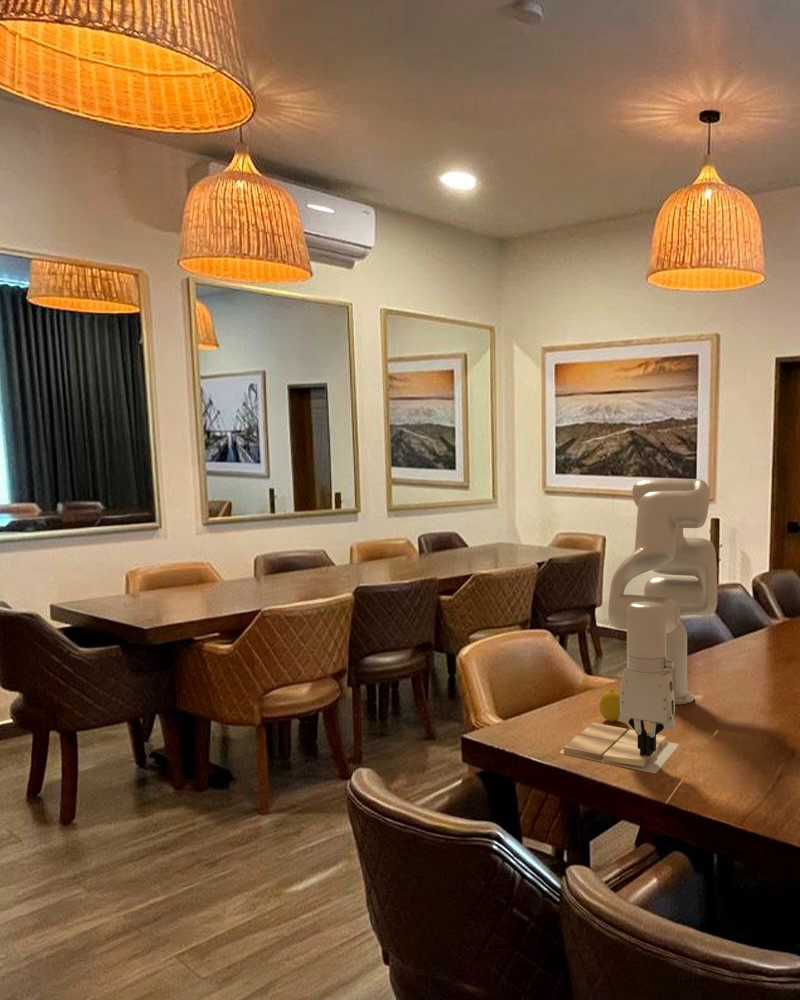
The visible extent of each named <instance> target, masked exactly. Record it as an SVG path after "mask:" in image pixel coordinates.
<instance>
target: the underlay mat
mask: <svg viewBox="0 0 800 1000" xmlns="http://www.w3.org/2000/svg"><path fill="white" fill-rule="evenodd" d="M679 746H680V744H679V743H676V742H675V743H674V742H669V741H667V742H666V743H665V744H664V745H663V746H662V748H661V749H660V750H659V751H658V752H657V753H656V755H655V754H653V755H652V757H651V758H650V759H649V760H648V761H647V762H646V763H645V765H644V766H636V765H629V764H622V763H614V762H607V761H603V759H602V760H601V761H600V760H596V759H591V758H587V757H582V756H577V755H573V754H568V753H564V748H562V749H561V750H560V752H559V754H561V755H562V754H563V755H567V756H573V757H578V758H581V759H586V760H591V761H596V762H601V763H604V764H609V765H613V766H618V767H623V768H628V769H632V770H636V771H642V772H644V773H645V772H647V773H650V774H654V775H655V774H657V773H658V772H659V770H660V769H662V767H663V765H664V764H665V763H666V762H667V760H668V759H669V758H670V757H671V755H673V753H674V752H675V750H676V749H677V748H678V747H679Z"/></svg>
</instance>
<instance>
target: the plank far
mask: <svg viewBox="0 0 800 1000" xmlns="http://www.w3.org/2000/svg"><path fill="white" fill-rule="evenodd" d="M617 742H621V743H629V744H637V745H638V735H637V734H636V733H635V730H634V729H628V732H627V733H626V734H625V735H623V736H622V737H621V738H620V739H619V740H618V741H617ZM666 742H668V741H667V735H662V734H657V735H656V751H655V753H654V754H655V755H656V753H657V752H658V751H659V750H660V749H661V748H662V746H663V745H664V744H665V743H666Z"/></svg>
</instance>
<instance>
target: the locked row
mask: <svg viewBox="0 0 800 1000" xmlns="http://www.w3.org/2000/svg"><path fill="white" fill-rule="evenodd" d="M628 731H629V729H628V728H624V727H618V726H613V725H609V724H603V723H598V722H592V723H591V724H589V725H588V726H587V727H585V729H583V730H582V731H581V732H579V733H578V734H577V735H576V736H574V737H573V739H571V740H570V741H569V742H567V743H566V744H565V745H564V746H563V749H564V753H568V754H573V755H577V756H582V757H587V758H591V759H596V760H600V761H601V760H602V759H603V755H604V754H605V753H606V752H607V751H608V750H609V749H610V748H611V747H612V746H613V745H614V744H615V743H616V742H617V741H618V740H619V739H620V738H621V737H622V736H623V735H625V734H626V733H627V732H628Z"/></svg>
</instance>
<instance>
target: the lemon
mask: <svg viewBox="0 0 800 1000" xmlns="http://www.w3.org/2000/svg"><path fill="white" fill-rule="evenodd" d="M598 705H599V711H600V714H601V716H602V717H603V718H604V719H605V720H607V721H609V723H614V722H616V721H618V720H620V719H619V715H620V693H618V692H617V691H615V690H614V689H612V688H611V689H609V690H607V691H604V692H603V694H601V696H600V700H599V704H598Z"/></svg>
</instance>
